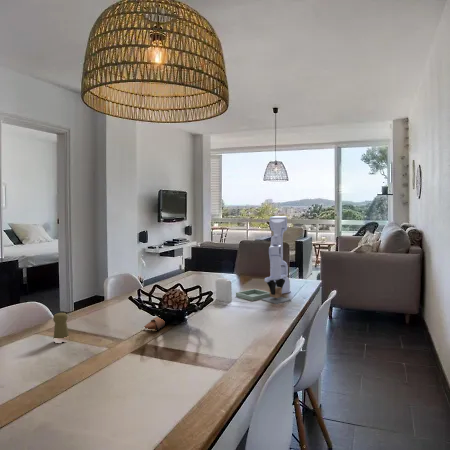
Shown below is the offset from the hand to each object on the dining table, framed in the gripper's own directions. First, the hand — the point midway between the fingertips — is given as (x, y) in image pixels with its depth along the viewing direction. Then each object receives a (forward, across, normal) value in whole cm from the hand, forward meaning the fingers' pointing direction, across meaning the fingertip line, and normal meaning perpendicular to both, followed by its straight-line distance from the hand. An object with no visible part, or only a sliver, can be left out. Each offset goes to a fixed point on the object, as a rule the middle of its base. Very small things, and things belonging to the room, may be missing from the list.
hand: (276, 293), depth 208 cm
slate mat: (+4, 0, 0) cm, 4 cm away
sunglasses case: (+5, -67, +5) cm, 67 cm away
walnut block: (+2, 0, 0) cm, 2 cm away
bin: (+4, -3, +14) cm, 15 cm away
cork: (+4, -105, +12) cm, 106 cm away
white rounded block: (+4, -20, +20) cm, 28 cm away
